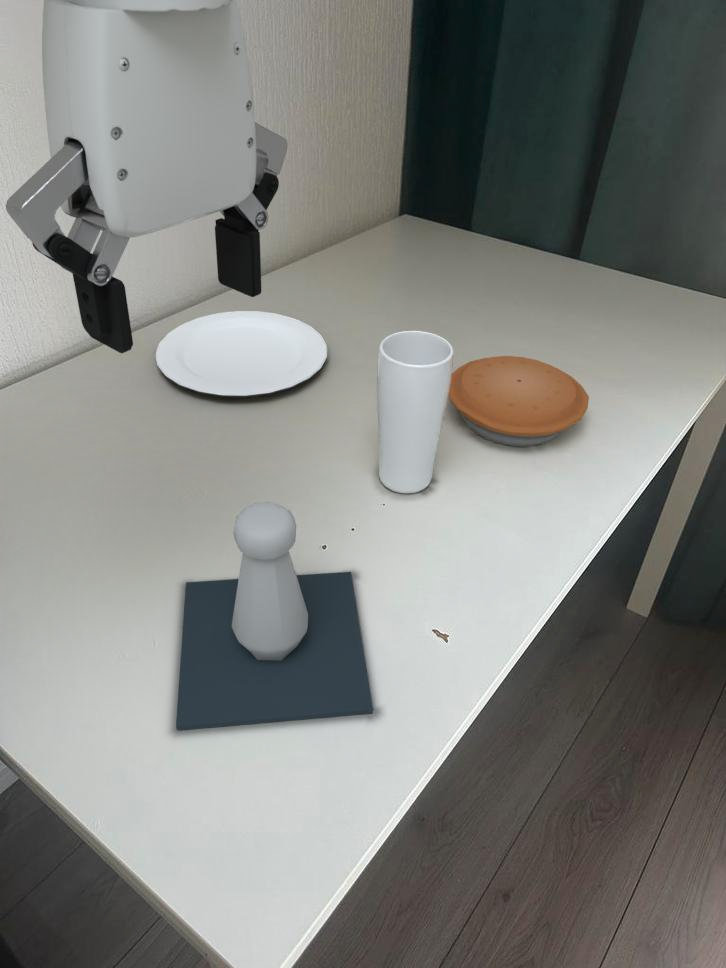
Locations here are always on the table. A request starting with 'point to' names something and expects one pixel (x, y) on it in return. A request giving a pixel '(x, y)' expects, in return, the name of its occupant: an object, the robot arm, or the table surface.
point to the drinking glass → (411, 406)
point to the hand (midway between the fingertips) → (179, 314)
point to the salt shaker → (268, 583)
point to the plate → (241, 354)
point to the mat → (271, 683)
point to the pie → (516, 399)
